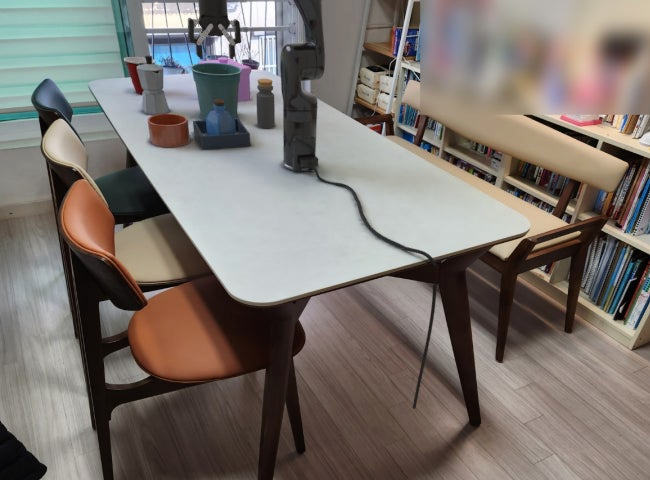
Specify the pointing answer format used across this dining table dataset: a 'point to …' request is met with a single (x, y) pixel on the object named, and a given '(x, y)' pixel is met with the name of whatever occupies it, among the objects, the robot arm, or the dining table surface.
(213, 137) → the tray
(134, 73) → the plastic cup
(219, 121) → the perfume bottle
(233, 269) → the dining table surface
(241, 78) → the teapot
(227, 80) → the flower pot
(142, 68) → the coffee maker
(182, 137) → the round terracotta bowl
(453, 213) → the dining table surface
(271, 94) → the bottle
